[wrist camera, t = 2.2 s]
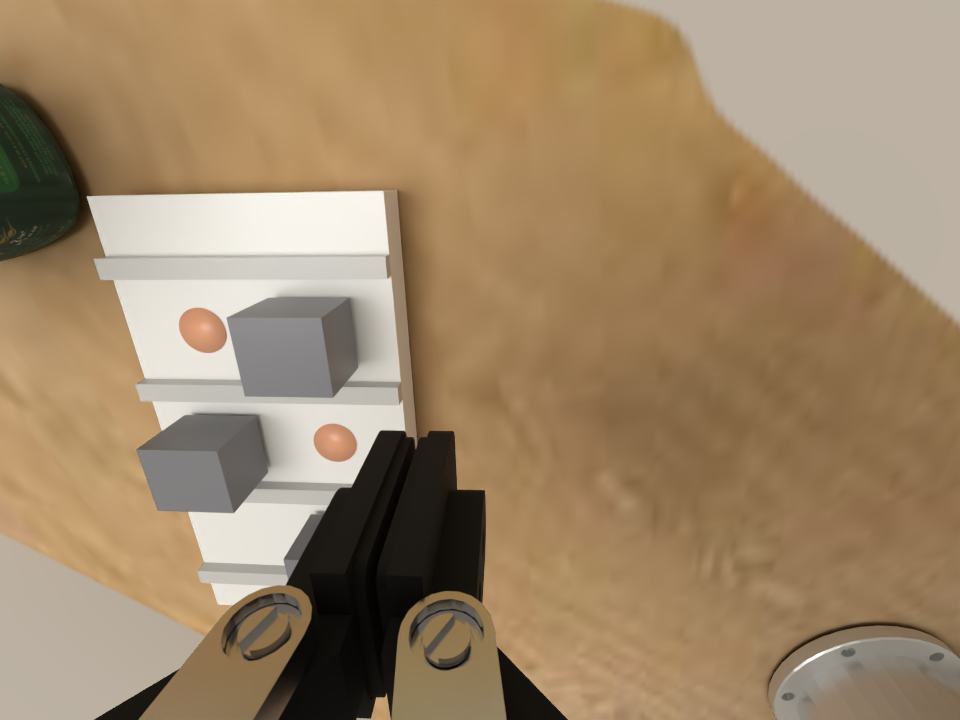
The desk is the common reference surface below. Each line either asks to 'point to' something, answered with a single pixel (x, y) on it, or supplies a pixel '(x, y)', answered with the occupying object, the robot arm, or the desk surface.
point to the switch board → (211, 358)
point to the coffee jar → (31, 181)
